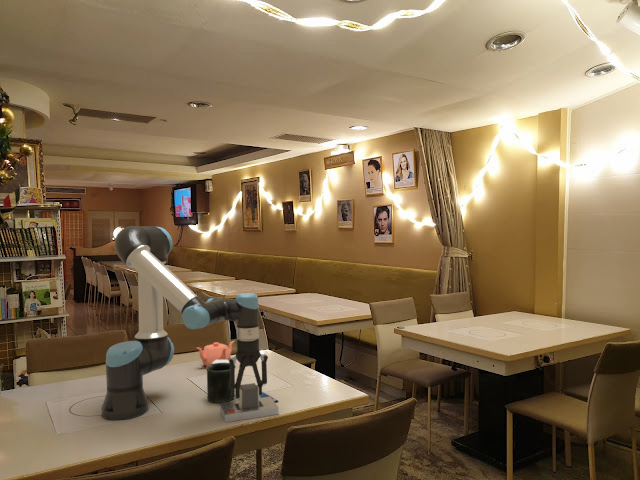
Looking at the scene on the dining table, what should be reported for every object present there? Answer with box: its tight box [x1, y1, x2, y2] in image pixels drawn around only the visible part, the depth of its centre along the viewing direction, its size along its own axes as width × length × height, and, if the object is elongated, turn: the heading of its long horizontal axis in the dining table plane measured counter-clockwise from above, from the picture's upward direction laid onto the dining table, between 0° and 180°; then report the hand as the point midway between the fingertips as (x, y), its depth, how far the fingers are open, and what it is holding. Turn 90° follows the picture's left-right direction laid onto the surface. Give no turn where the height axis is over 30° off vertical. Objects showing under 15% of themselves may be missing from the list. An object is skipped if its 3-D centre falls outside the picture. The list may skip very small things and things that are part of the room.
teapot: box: [196, 340, 236, 367], centre depth 218 cm, size 14×14×11 cm
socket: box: [219, 396, 279, 423], centre depth 162 cm, size 18×11×3 cm, turn 111°
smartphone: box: [259, 391, 279, 404], centre depth 176 cm, size 7×1×15 cm
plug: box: [240, 382, 258, 409], centre depth 162 cm, size 5×5×9 cm
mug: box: [205, 363, 236, 404], centre depth 177 cm, size 11×15×12 cm
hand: (248, 405), depth 162 cm, fingers closed on plug, 5 cm apart
